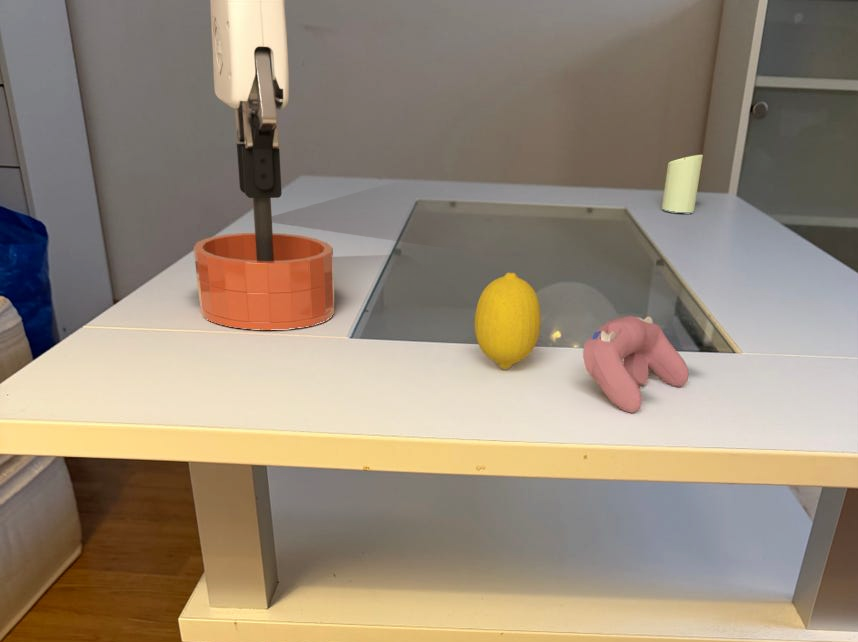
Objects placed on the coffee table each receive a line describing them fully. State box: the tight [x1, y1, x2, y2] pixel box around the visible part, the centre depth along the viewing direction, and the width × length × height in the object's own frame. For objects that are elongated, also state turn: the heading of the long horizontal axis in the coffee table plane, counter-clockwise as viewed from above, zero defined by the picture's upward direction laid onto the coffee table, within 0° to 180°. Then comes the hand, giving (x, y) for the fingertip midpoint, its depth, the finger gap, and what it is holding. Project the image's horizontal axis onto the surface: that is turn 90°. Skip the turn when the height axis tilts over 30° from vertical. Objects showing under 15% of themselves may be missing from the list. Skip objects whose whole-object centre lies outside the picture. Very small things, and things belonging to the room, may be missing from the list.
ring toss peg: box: [252, 198, 274, 261], centre depth 90 cm, size 5×5×14 cm
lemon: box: [474, 272, 542, 370], centre depth 82 cm, size 6×6×8 cm
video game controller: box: [582, 315, 689, 414], centre depth 80 cm, size 10×5×7 cm, turn 144°
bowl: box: [193, 232, 335, 330], centre depth 93 cm, size 13×13×6 cm
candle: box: [661, 154, 704, 213], centre depth 151 cm, size 5×5×8 cm
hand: (260, 193), depth 89 cm, fingers closed on ring toss peg
